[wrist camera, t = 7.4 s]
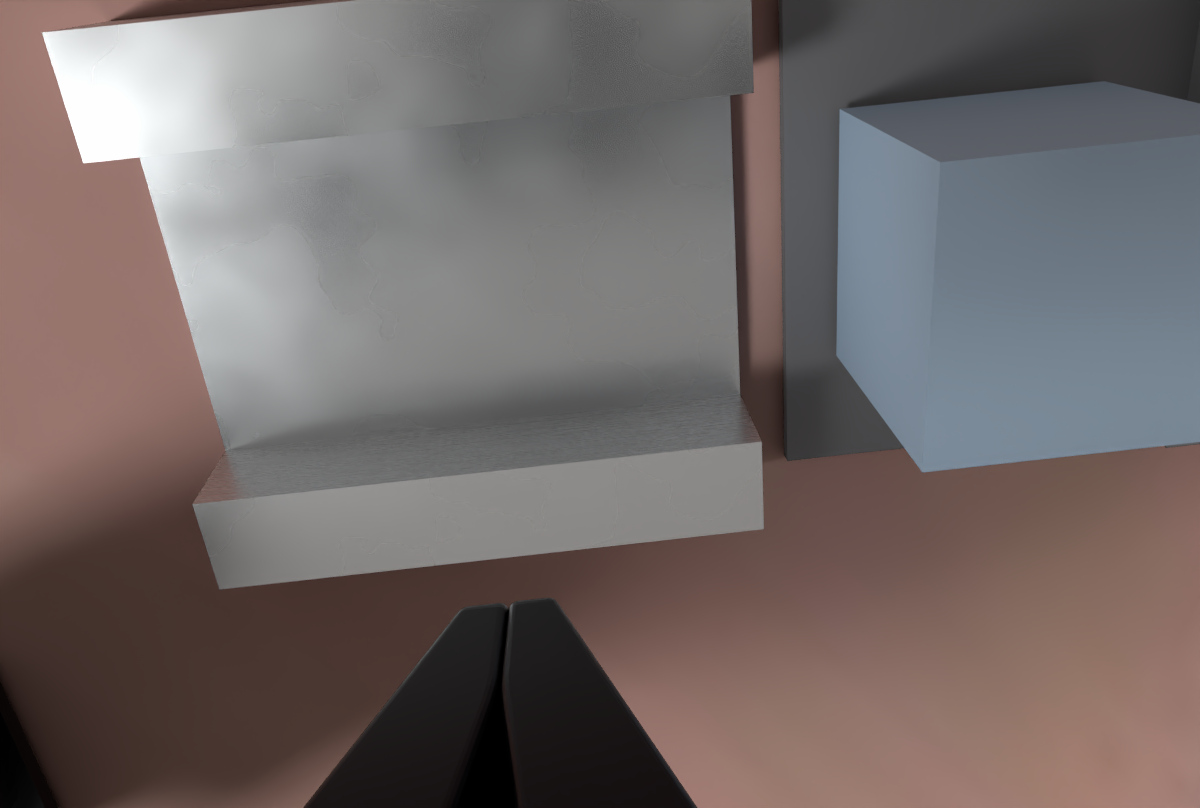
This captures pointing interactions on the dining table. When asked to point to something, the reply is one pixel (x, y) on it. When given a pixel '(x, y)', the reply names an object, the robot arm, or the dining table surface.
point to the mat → (912, 73)
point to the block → (1023, 271)
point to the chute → (444, 269)
